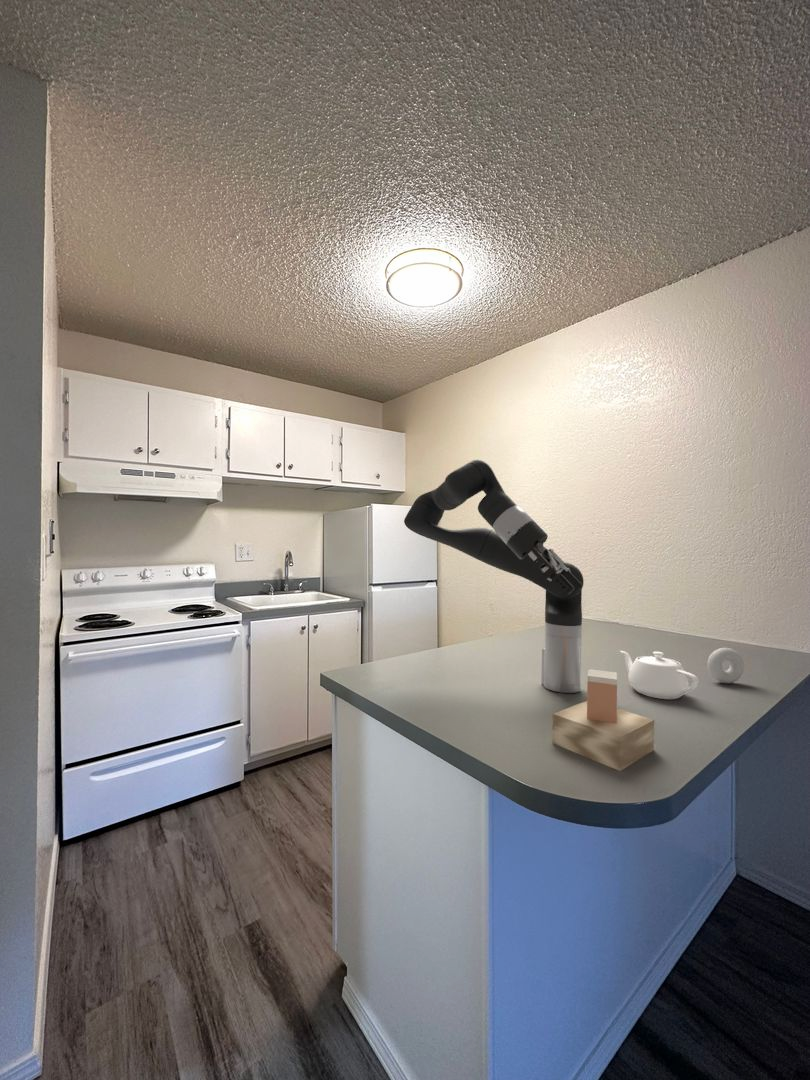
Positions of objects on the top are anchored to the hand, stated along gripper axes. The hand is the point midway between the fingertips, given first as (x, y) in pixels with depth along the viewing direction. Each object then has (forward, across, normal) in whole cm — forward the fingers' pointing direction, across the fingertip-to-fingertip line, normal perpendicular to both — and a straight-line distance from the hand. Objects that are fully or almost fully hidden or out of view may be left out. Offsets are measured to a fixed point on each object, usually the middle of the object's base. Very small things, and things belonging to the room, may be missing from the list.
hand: (574, 590), depth 89 cm
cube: (+20, 0, -13) cm, 24 cm away
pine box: (+25, 0, -17) cm, 30 cm away
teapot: (+29, -42, -11) cm, 52 cm away
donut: (+41, -63, +1) cm, 75 cm away
